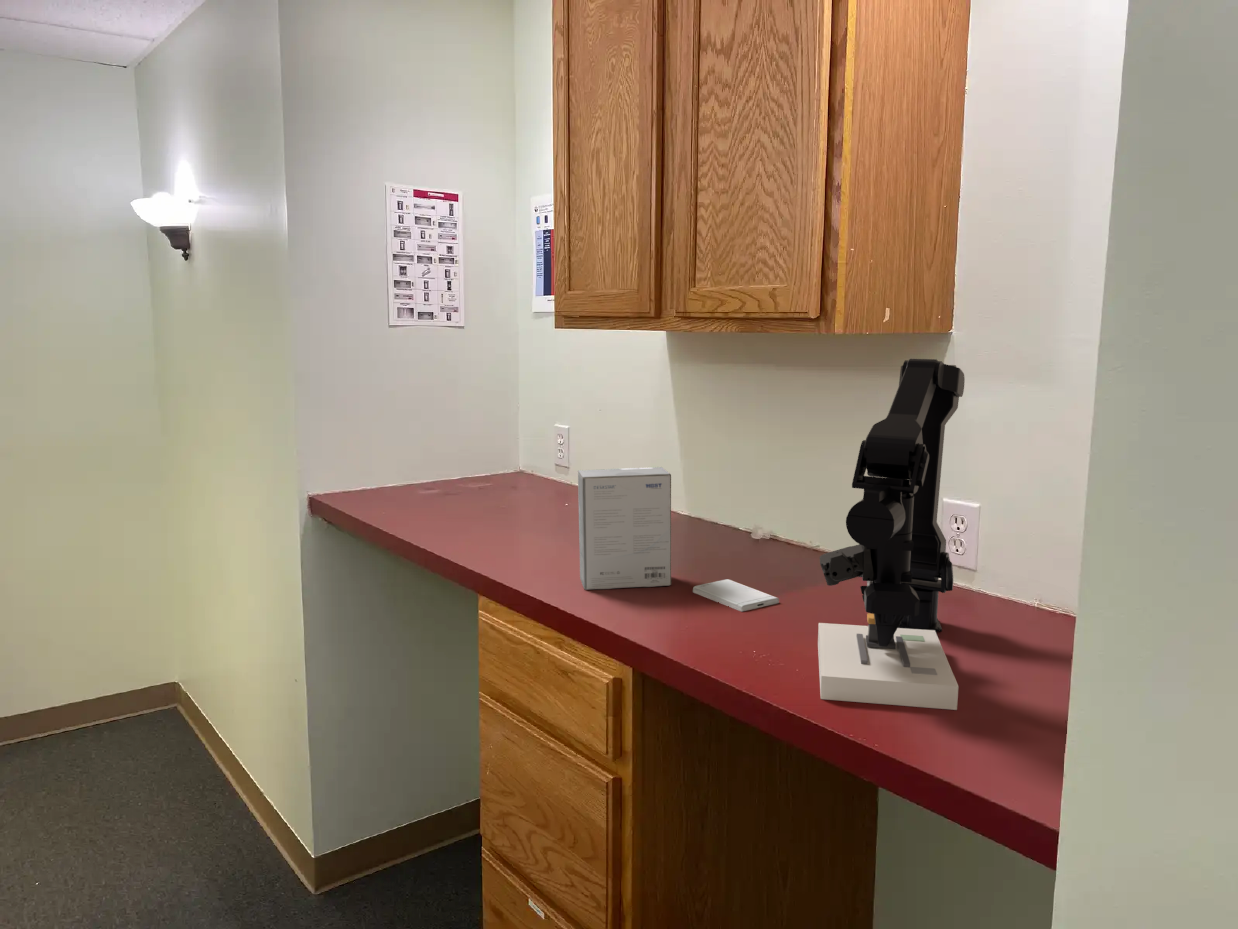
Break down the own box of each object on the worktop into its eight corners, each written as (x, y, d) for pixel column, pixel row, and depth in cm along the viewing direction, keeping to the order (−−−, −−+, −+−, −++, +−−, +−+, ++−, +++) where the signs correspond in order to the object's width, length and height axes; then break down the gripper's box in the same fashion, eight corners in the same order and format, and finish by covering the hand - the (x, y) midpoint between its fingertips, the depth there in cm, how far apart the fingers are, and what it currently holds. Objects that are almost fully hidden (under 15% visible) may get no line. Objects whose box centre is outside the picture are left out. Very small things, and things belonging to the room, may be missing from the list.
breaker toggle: (865, 638, 126) (867, 612, 125) (893, 640, 125) (894, 613, 124) (867, 647, 123) (868, 619, 122) (895, 649, 122) (896, 621, 121)
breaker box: (817, 642, 133) (818, 619, 132) (933, 650, 130) (935, 627, 129) (820, 699, 113) (821, 672, 113) (956, 710, 110) (958, 682, 110)
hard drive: (692, 586, 157) (741, 605, 146) (729, 578, 161) (779, 596, 151) (692, 595, 157) (741, 615, 147) (729, 587, 161) (779, 606, 151)
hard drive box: (663, 574, 167) (664, 466, 164) (671, 587, 160) (673, 473, 156) (578, 578, 165) (577, 468, 162) (583, 590, 157) (582, 476, 154)
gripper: (822, 511, 129) (818, 618, 131) (826, 544, 111) (821, 668, 113) (905, 515, 127) (899, 623, 129) (923, 549, 109) (915, 674, 111)
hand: (882, 645), depth 121 cm, fingers closed
